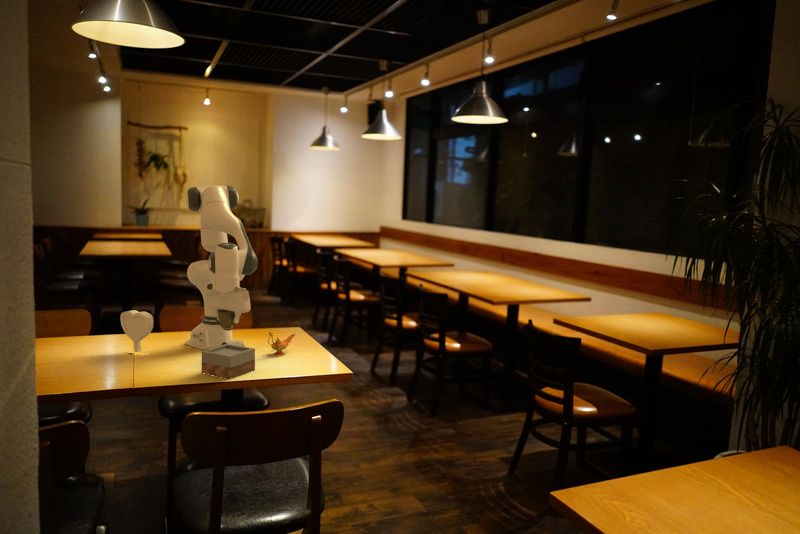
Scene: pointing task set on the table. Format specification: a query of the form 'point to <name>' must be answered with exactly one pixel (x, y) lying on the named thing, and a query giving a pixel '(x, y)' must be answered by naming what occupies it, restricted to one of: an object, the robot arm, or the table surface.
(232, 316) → the cup
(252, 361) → the tower block low
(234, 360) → the tower block high
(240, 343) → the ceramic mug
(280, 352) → the magic lamp
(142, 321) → the heart sculpture
